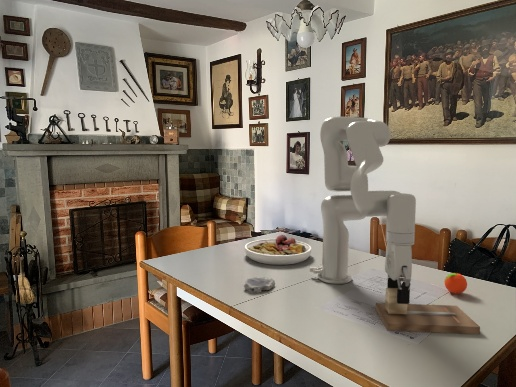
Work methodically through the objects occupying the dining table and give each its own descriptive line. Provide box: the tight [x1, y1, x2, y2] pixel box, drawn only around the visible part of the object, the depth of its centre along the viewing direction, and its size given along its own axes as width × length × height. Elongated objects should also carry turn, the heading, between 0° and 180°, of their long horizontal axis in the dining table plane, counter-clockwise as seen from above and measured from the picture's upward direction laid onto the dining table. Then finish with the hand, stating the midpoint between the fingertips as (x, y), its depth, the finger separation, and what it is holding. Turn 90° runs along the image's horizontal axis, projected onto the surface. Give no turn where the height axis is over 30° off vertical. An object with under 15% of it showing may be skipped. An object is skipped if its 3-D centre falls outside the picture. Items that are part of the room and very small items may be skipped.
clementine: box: [444, 272, 468, 295], centre depth 131 cm, size 8×7×7 cm
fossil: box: [243, 276, 276, 294], centre depth 135 cm, size 11×4×10 cm
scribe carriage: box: [384, 287, 407, 314], centre depth 110 cm, size 6×4×6 cm
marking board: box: [375, 302, 481, 335], centre depth 109 cm, size 24×14×2 cm, turn 86°
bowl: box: [244, 234, 312, 266], centre depth 174 cm, size 30×30×8 cm
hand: (397, 296), depth 109 cm, fingers open, 9 cm apart
